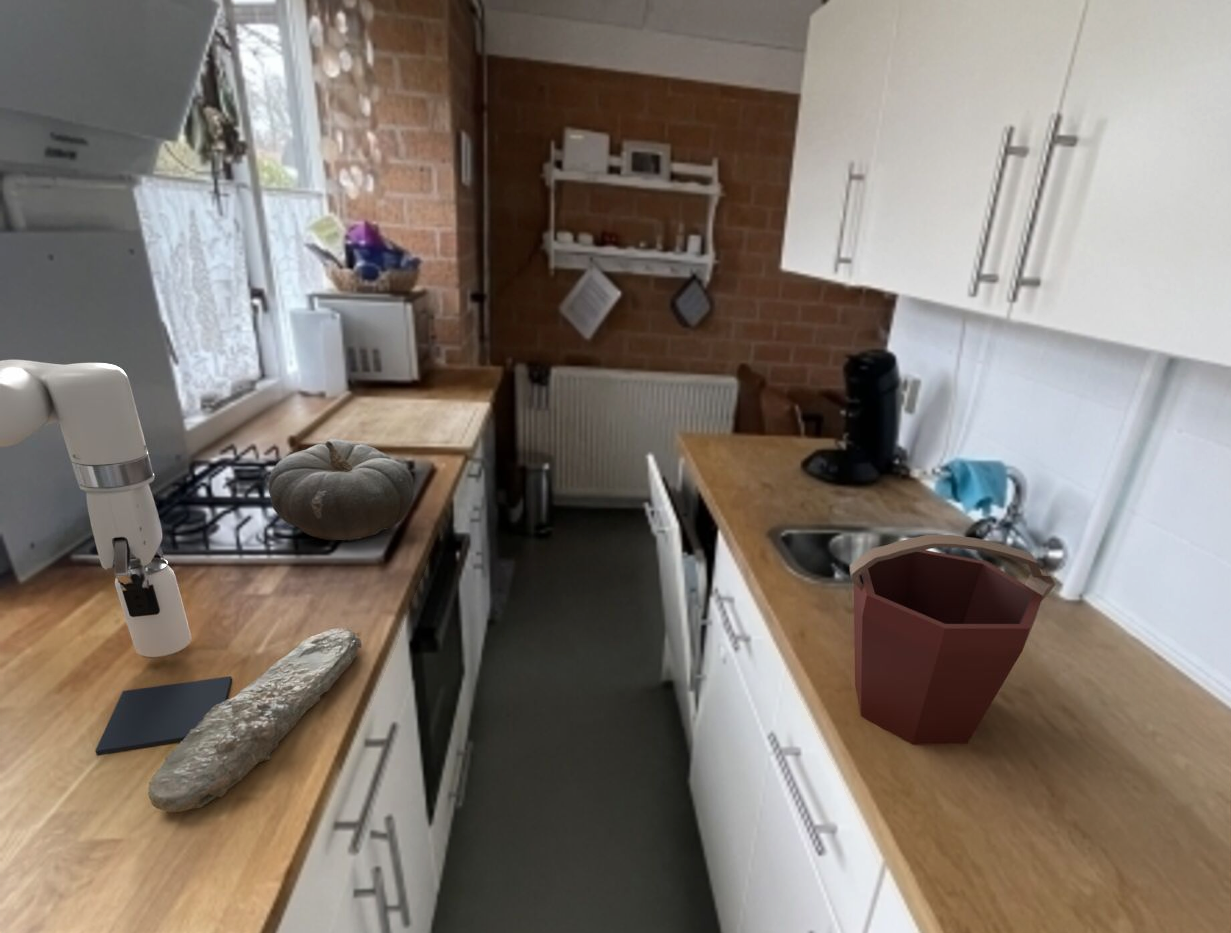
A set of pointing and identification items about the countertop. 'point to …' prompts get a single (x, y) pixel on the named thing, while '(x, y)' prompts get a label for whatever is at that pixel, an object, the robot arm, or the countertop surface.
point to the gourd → (341, 490)
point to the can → (159, 615)
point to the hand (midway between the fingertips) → (151, 600)
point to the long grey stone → (250, 723)
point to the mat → (160, 714)
